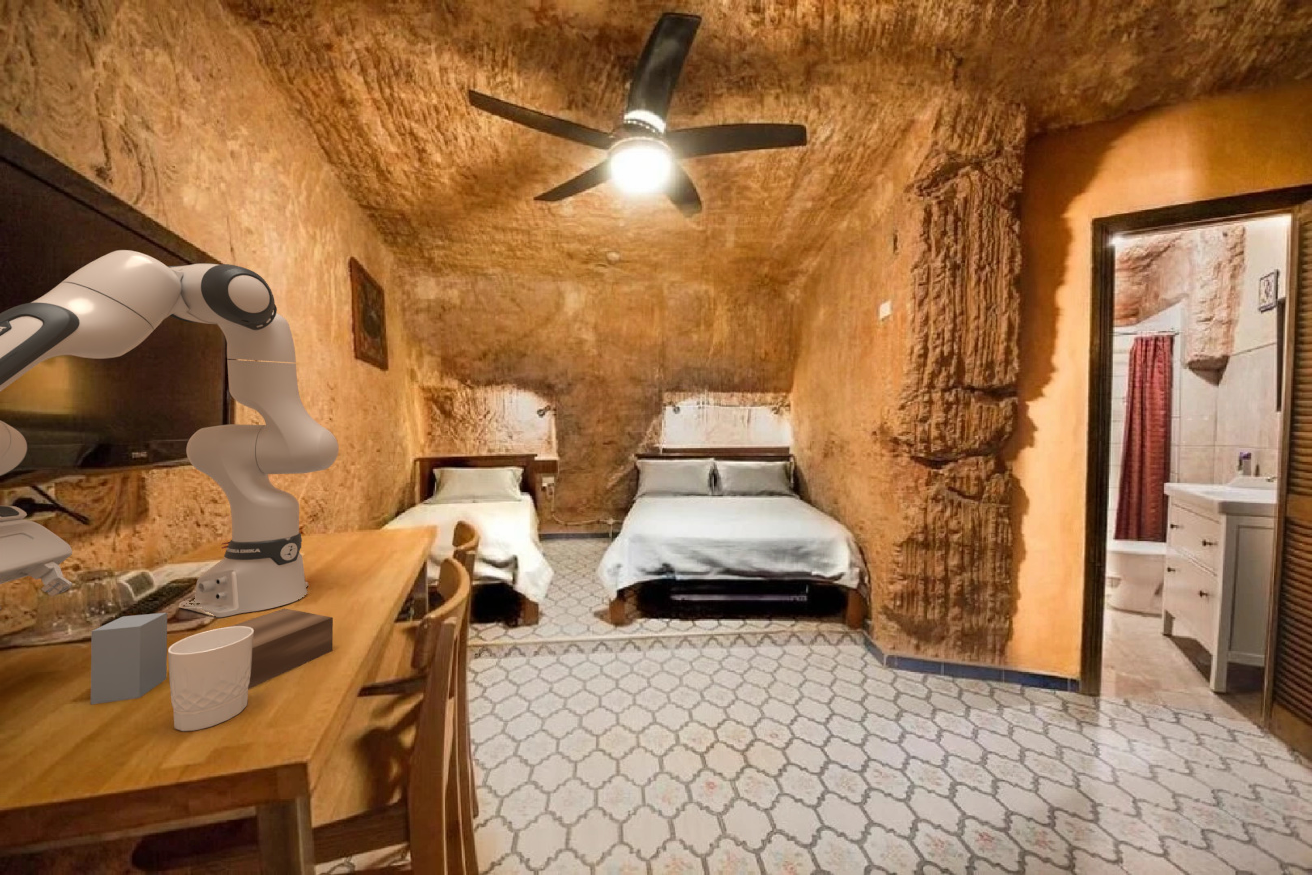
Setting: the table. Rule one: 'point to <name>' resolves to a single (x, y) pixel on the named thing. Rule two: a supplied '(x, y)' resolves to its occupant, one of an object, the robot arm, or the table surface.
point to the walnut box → (287, 642)
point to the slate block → (128, 657)
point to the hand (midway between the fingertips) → (29, 602)
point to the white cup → (210, 676)
